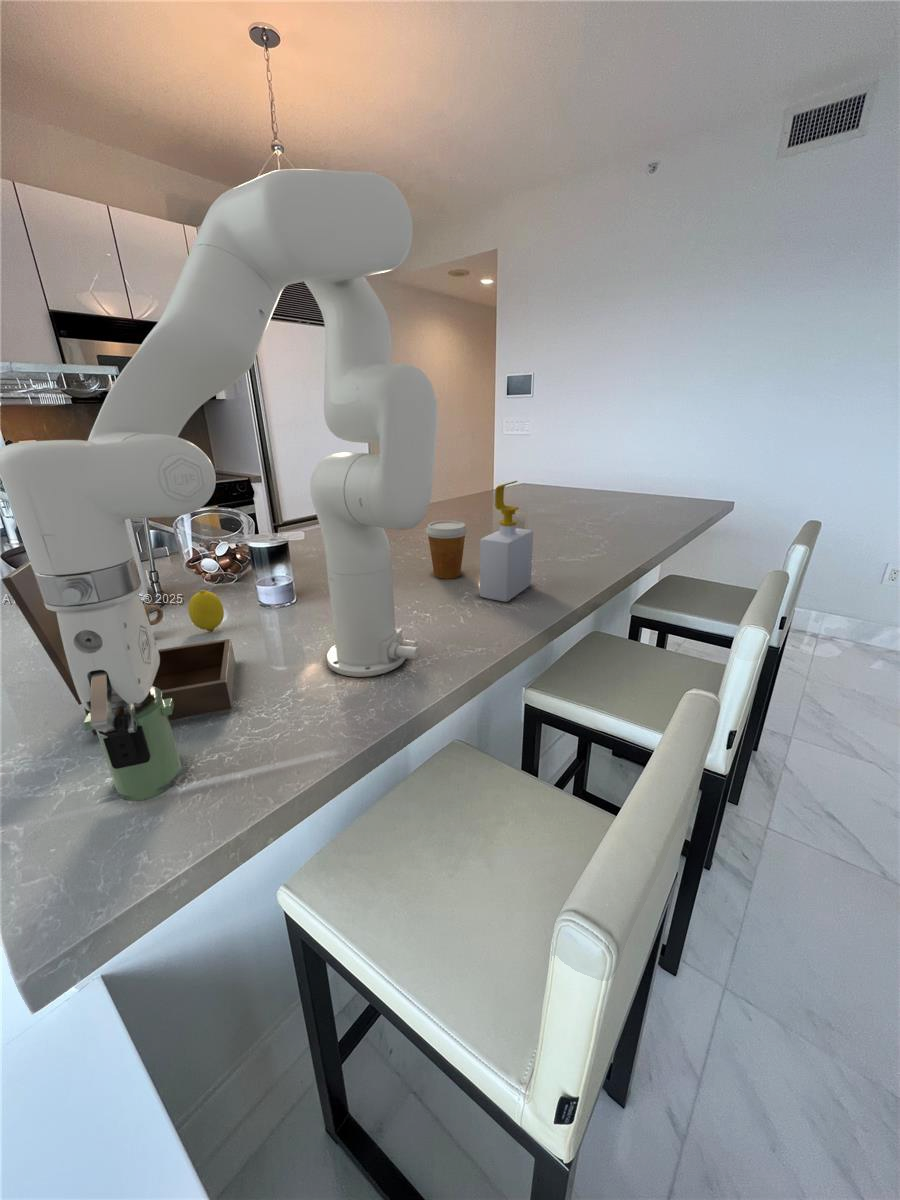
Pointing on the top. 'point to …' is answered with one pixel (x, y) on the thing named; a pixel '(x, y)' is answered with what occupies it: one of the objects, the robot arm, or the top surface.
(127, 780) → the green pot
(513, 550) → the soap bottle
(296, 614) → the top surface
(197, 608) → the lemon
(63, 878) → the top surface
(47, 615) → the chest lid
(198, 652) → the chest
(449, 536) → the disposable coffee cup
